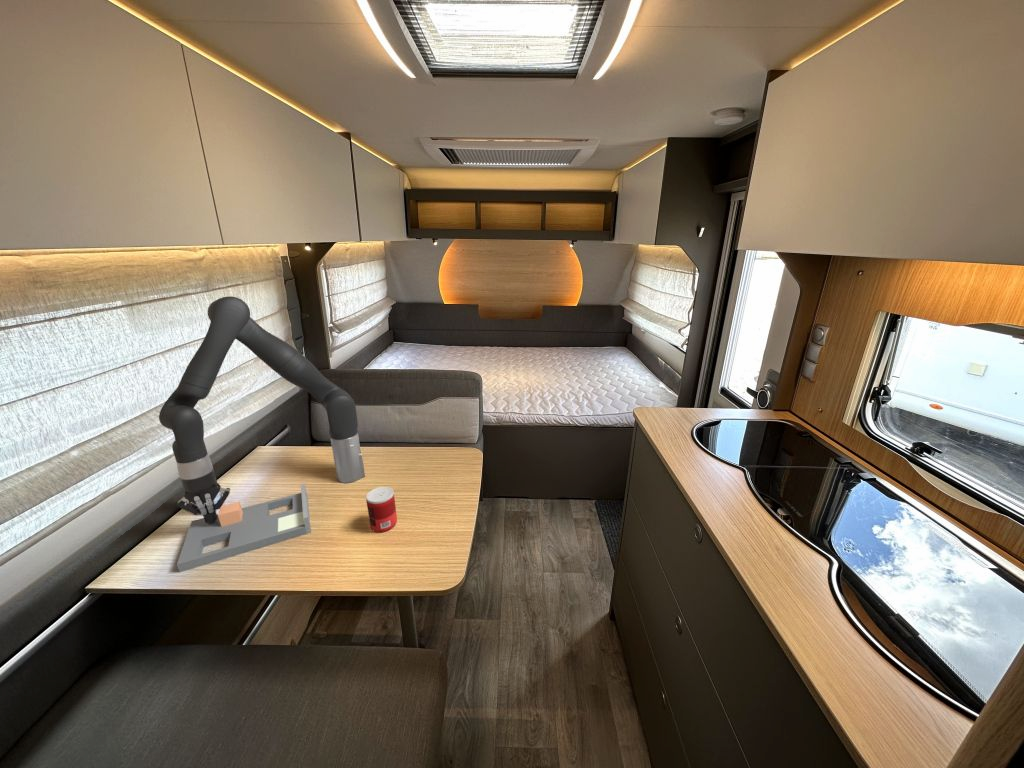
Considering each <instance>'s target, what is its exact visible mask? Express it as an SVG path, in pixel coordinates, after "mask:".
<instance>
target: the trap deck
mask: <svg viewBox="0 0 1024 768" xmlns="http://www.w3.org/2000/svg"><path fill="white" fill-rule="evenodd" d="M300 491H301V492H300V493H299V492H298V493H296V494H292V495H287V496H284V497H281V498H276V499H272V500H267V501H265V502H261V503H256V504H253V505H249V506H244V507H242V511H243V515H242V521H241V522H237V523H233V524H230V525H226V526H222V527H221V524H220V520H219V517H218V513H216V514H217V520H216V521H215V523H213V524H208V523H206V522H205V520H204V517H202V518H198V519H194V520H191V522H190V524H189V528H188V531H187V534H186V536H185V540H184V543H183V544H182V549H181V552H180V554H179V558H178V560H177V563H176V567H177V569H178V571H179V573H181V572H185V571H188V570H193V569H196V568H198V567H201V566H205V565H208V564H211V563H215V562H218V561H222V560H225V559H227V558H228V559H229V558H231V557H235V556H238V555H241V554H245V553H249V552H251V551H254V550H259V549H261V548H264V547H268V546H271V545H275V544H278V543H282V542H284V541H288V540H291V539H295V538H297V537H301V536H304V535H307V534H311V533H312V529H311V527H312V526H311V519H310V517H311V516H310V508H309V506H310V505H309V497H308V492H307V487H306V484H305V483H303V484H300ZM283 506H284V507H287V506H292V508H291V509H287V510H285V511H280V512H276V513H273V514H270V511H272V510H271V509H273V510H276V509H275V508H277V509H280V508H283ZM279 507H280V508H279ZM269 510H270V511H269ZM225 541H228V545H227V546H225V547H220V548H217V549H215V550H211V551H207V552H204V547H205V548H206V547H208V546H212V545H215V544H218V543H221V542H225ZM203 552H204V553H203Z"/></svg>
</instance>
